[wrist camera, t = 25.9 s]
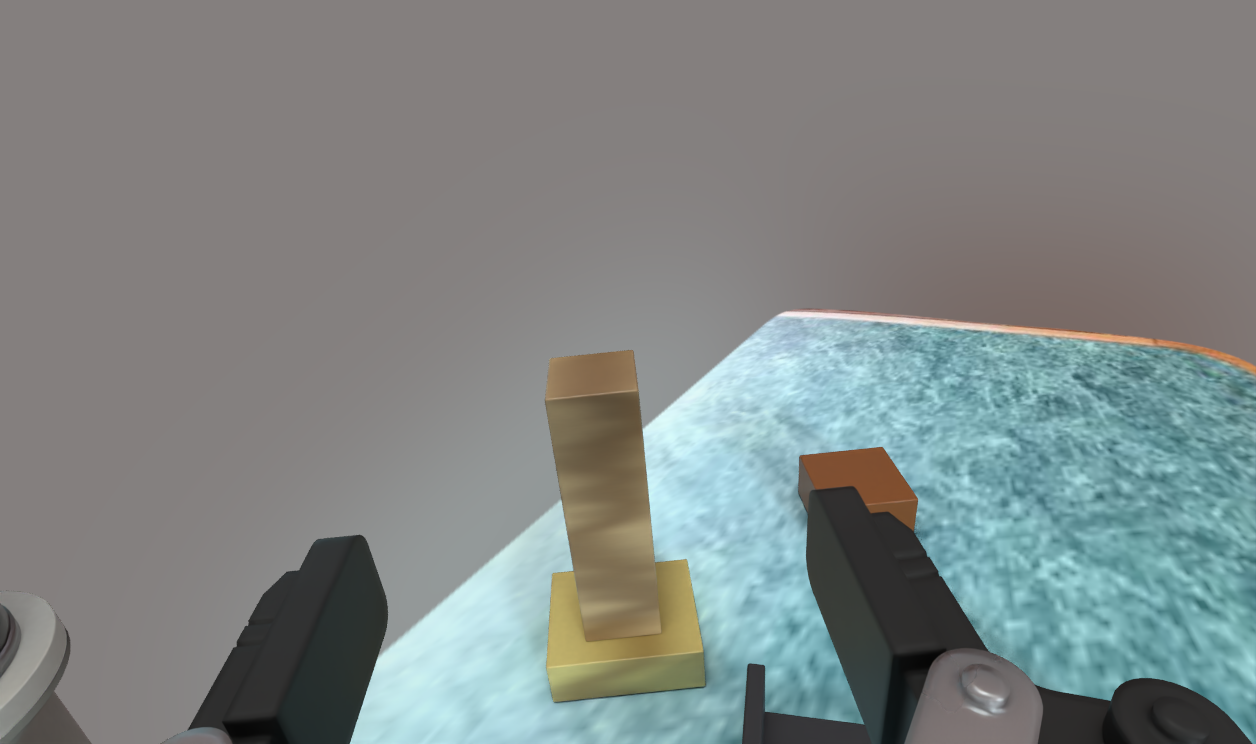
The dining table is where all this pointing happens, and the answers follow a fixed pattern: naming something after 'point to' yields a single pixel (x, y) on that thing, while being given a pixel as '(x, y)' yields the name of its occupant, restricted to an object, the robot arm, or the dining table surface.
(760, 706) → the pan
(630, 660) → the pillar on square base
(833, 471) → the brown square block
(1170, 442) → the dining table surface
